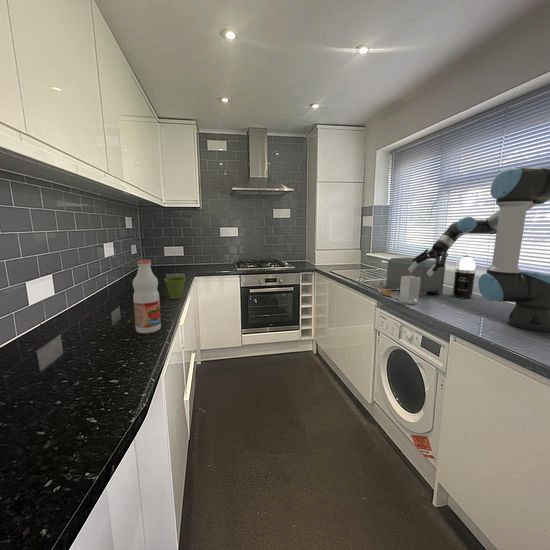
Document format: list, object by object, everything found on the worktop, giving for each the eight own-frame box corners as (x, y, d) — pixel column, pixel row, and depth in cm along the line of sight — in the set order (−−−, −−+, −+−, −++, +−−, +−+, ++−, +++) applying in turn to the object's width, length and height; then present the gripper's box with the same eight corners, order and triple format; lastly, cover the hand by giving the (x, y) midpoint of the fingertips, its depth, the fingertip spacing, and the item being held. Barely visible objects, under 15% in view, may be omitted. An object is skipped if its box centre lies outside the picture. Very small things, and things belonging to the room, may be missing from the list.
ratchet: (422, 304, 159) (423, 290, 157) (406, 305, 156) (407, 291, 155) (390, 293, 184) (391, 281, 183) (376, 294, 182) (377, 282, 180)
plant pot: (170, 295, 174) (169, 276, 173) (189, 295, 173) (189, 277, 172) (161, 300, 163) (160, 280, 161) (182, 300, 162) (181, 280, 160)
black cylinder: (453, 293, 184) (457, 254, 180) (472, 296, 178) (477, 255, 174) (451, 297, 176) (456, 255, 171) (471, 299, 170) (477, 256, 165)
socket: (418, 299, 159) (420, 277, 157) (408, 300, 157) (410, 278, 155) (409, 296, 165) (411, 275, 163) (399, 297, 163) (401, 276, 161)
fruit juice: (141, 325, 122) (136, 258, 117) (164, 325, 122) (160, 258, 118) (131, 333, 113) (125, 261, 108) (156, 333, 113) (151, 261, 108)
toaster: (401, 284, 212) (403, 256, 209) (443, 294, 182) (446, 262, 178) (381, 286, 205) (383, 257, 201) (421, 297, 175) (424, 263, 171)
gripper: (466, 251, 152) (440, 281, 150) (428, 248, 176) (405, 274, 174) (459, 241, 150) (433, 271, 148) (421, 239, 173) (398, 265, 171)
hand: (418, 273), depth 161 cm, fingers open, 13 cm apart
